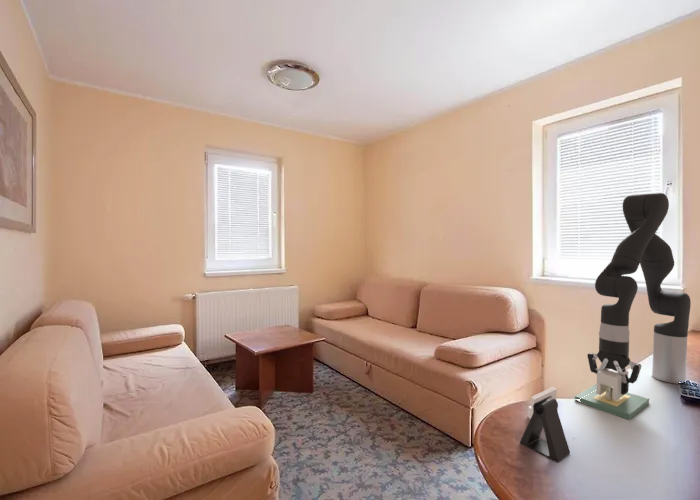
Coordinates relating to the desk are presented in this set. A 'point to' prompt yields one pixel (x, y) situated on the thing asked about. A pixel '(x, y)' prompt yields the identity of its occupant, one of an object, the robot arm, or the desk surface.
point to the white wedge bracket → (547, 393)
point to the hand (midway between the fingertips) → (612, 390)
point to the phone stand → (546, 431)
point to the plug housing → (609, 382)
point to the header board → (613, 402)
